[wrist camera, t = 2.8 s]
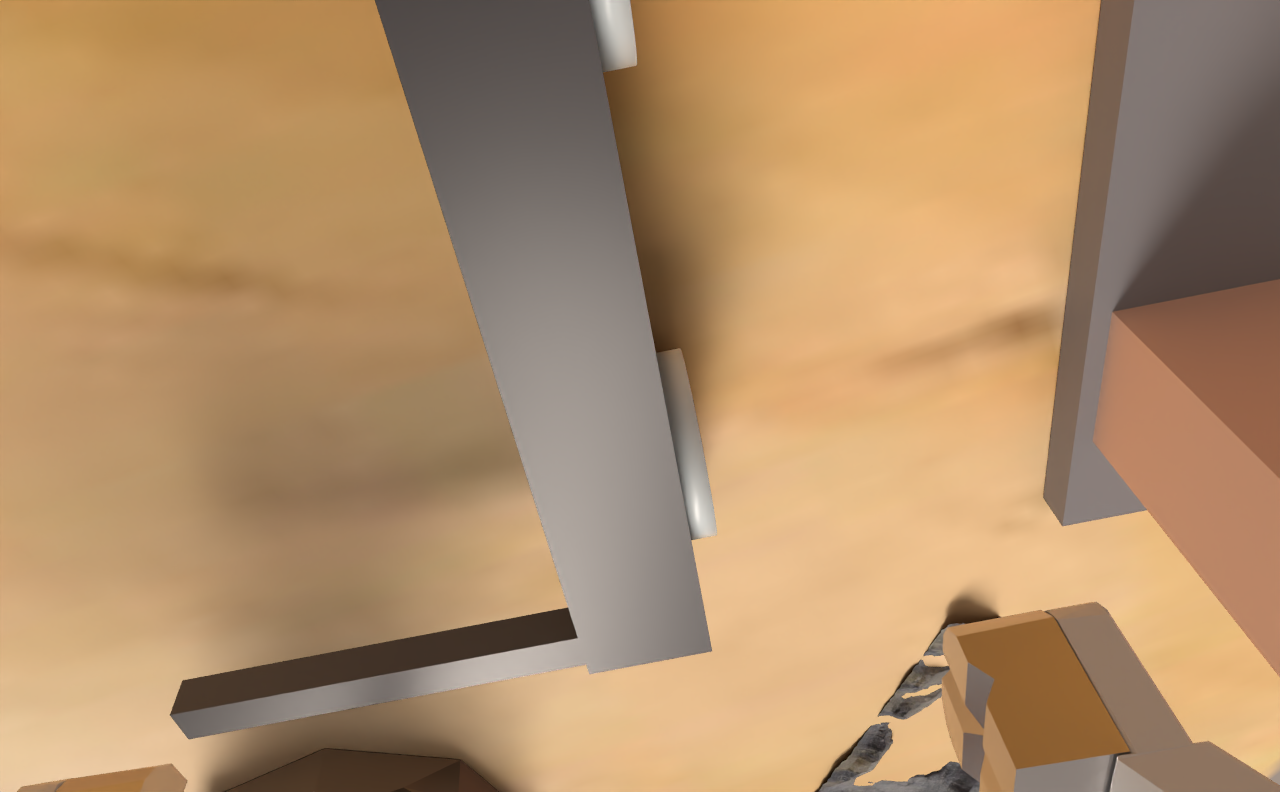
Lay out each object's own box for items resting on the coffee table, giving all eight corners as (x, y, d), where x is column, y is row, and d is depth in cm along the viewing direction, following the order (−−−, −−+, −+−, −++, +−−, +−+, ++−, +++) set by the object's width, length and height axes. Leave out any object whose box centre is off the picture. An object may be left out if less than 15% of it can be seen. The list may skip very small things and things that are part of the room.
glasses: (237, 595, 27) (185, 749, 23) (-285, -239, 15) (-590, -228, 11) (704, 505, 26) (736, 646, 22) (547, -415, 15) (553, -471, 11)
